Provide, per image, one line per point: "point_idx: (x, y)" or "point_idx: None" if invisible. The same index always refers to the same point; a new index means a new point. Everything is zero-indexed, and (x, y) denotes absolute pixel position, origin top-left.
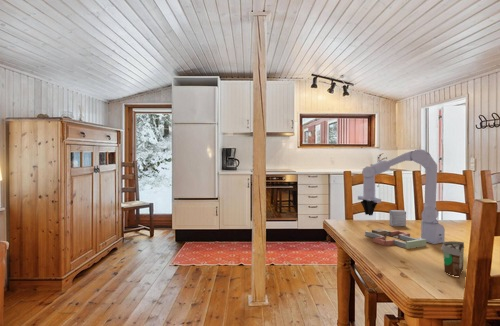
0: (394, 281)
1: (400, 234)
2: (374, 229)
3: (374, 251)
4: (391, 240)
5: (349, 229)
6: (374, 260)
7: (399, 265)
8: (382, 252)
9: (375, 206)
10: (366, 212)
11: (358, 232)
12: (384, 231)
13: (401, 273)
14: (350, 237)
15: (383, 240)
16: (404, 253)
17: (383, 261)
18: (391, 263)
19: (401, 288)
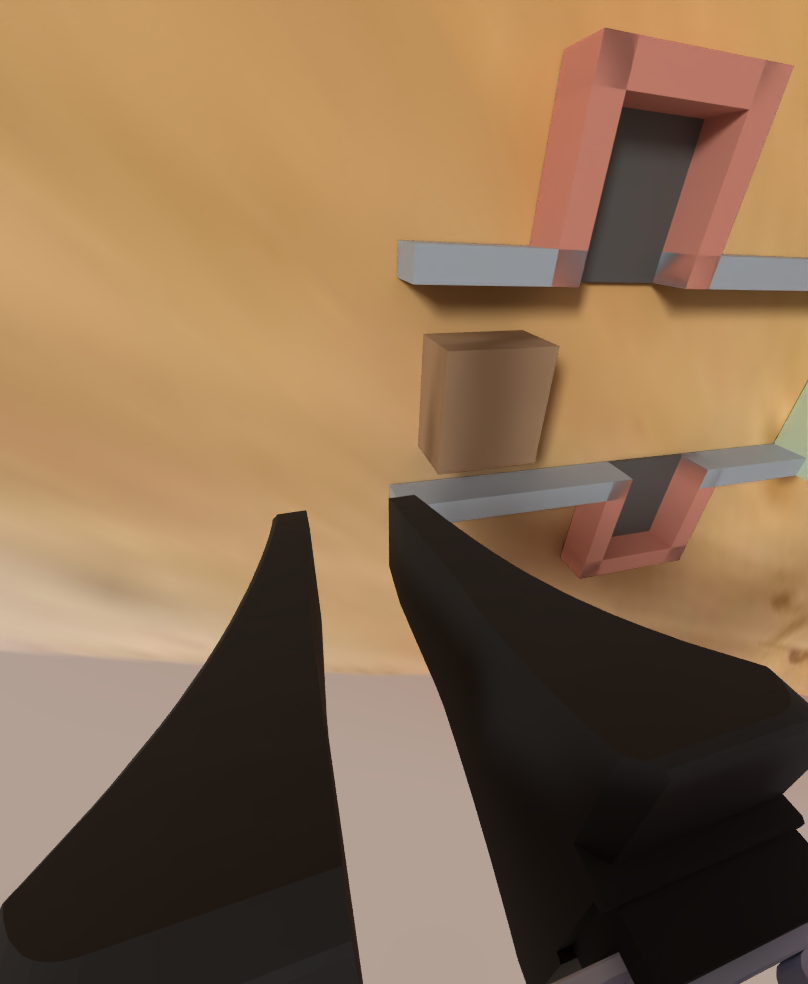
0: None
1: (706, 263)
2: (444, 436)
3: None
4: (702, 509)
5: (73, 520)
6: None
7: (778, 628)
8: (685, 610)
9: (604, 613)
10: (318, 609)
11: (262, 503)
12: (550, 370)
13: (793, 654)
14: (392, 635)
15: (661, 556)
16: (773, 530)
17: None
18: (751, 641)
19: (803, 692)
